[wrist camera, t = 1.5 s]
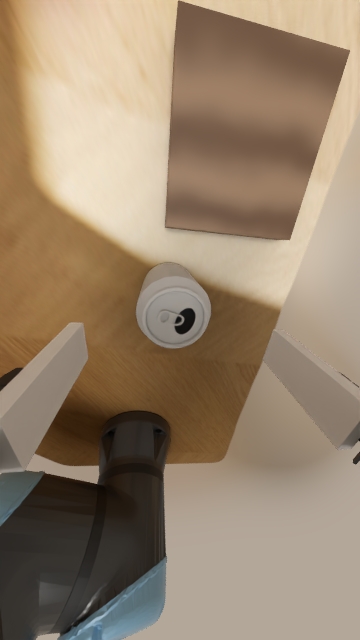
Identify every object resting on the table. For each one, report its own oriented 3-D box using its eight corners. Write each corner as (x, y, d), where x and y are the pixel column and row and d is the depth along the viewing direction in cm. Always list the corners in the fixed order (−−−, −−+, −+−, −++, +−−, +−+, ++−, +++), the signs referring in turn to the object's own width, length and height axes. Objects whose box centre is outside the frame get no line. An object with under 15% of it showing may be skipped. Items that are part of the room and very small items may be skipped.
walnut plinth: (276, 239, 26) (289, 239, 23) (165, 227, 24) (166, 226, 21) (322, 76, 19) (350, 50, 16) (174, 38, 17) (178, 0, 14)
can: (182, 316, 29) (196, 363, 18) (137, 301, 27) (123, 344, 17) (201, 272, 27) (230, 297, 16) (152, 253, 25) (149, 266, 14)
